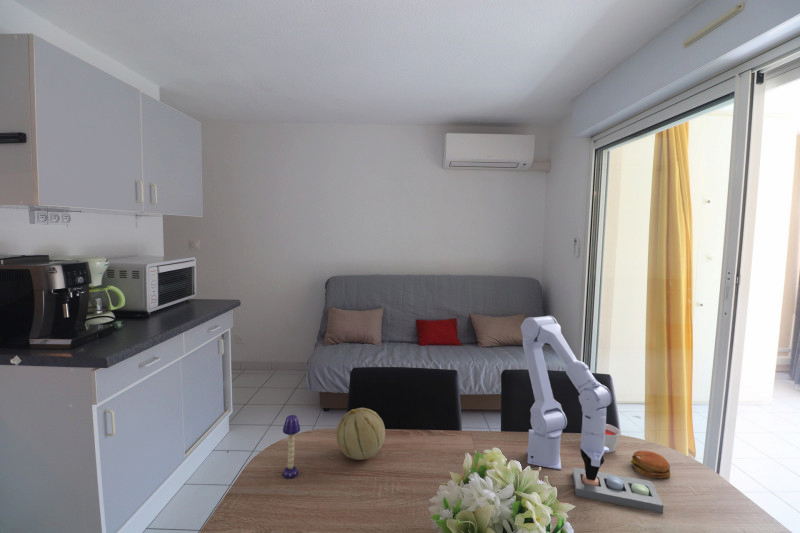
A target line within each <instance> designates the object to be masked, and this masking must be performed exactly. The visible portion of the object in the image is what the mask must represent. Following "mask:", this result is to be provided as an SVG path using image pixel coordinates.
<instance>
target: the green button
mask: <svg viewBox="0 0 800 533" xmlns="http://www.w3.org/2000/svg"><path fill="white" fill-rule="evenodd" d="M631 492H632V493H635V494H640V495H645V496H649V489H648V488H647V487H646V486H644V485H641V484H637V483H634V484H632V486H631Z"/></svg>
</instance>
